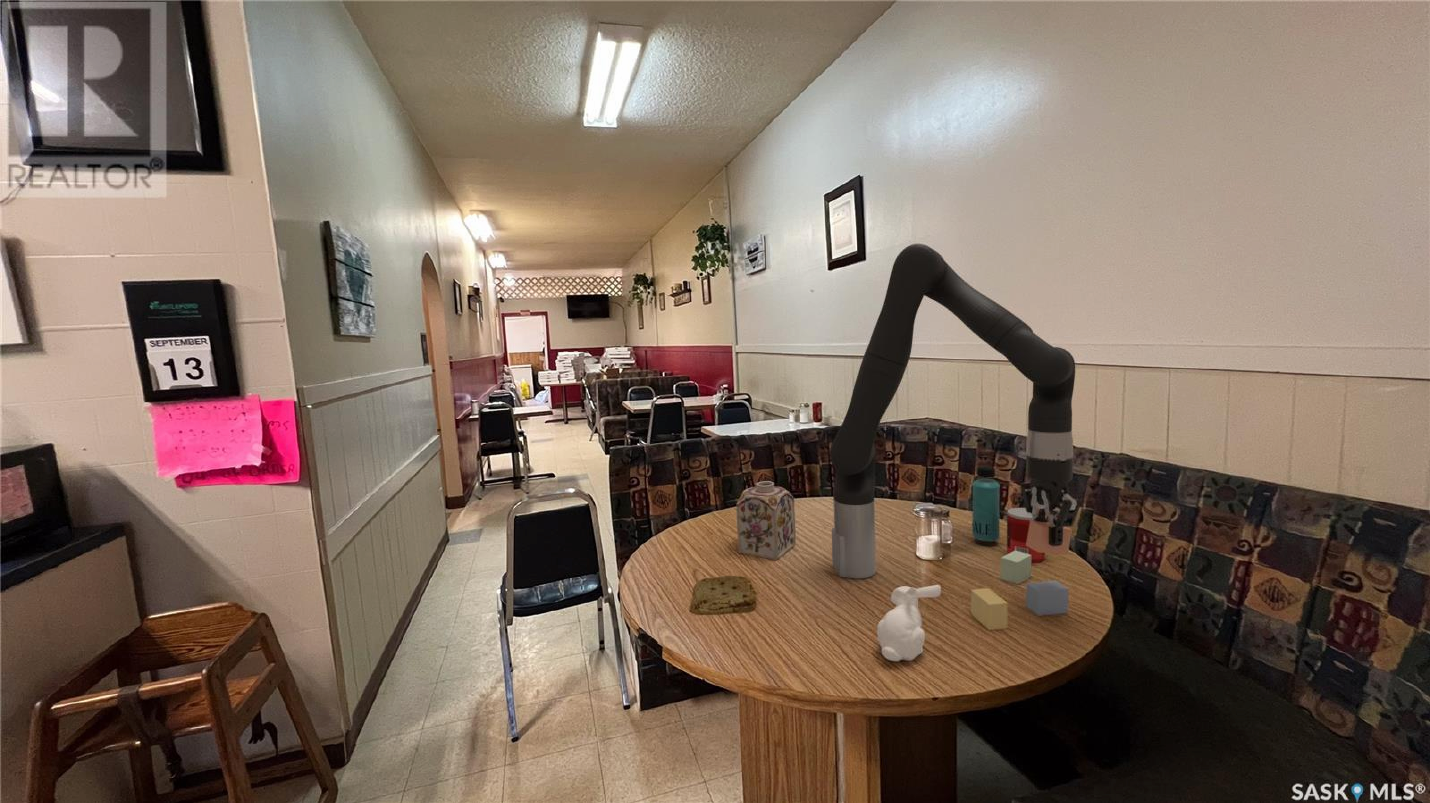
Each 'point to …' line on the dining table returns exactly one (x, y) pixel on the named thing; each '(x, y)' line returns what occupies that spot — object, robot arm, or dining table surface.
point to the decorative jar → (766, 521)
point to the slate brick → (1047, 598)
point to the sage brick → (1016, 567)
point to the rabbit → (904, 624)
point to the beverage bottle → (985, 506)
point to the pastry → (723, 595)
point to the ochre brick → (989, 608)
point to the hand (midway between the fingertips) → (1047, 540)
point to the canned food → (1020, 533)
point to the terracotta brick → (1046, 538)
